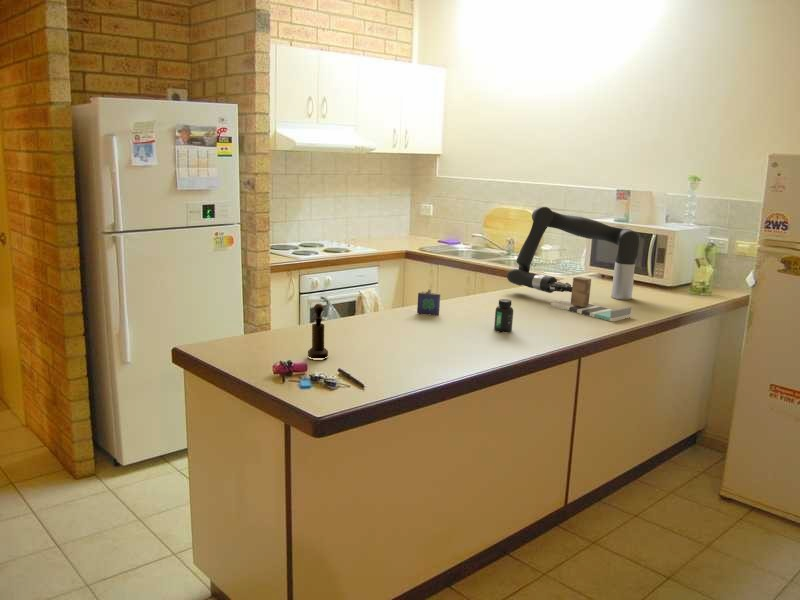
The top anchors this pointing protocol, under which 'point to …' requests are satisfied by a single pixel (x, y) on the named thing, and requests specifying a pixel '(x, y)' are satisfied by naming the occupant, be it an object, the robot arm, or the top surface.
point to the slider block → (580, 291)
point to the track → (595, 310)
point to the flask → (428, 303)
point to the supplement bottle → (503, 316)
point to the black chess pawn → (318, 336)
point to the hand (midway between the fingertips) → (575, 290)
